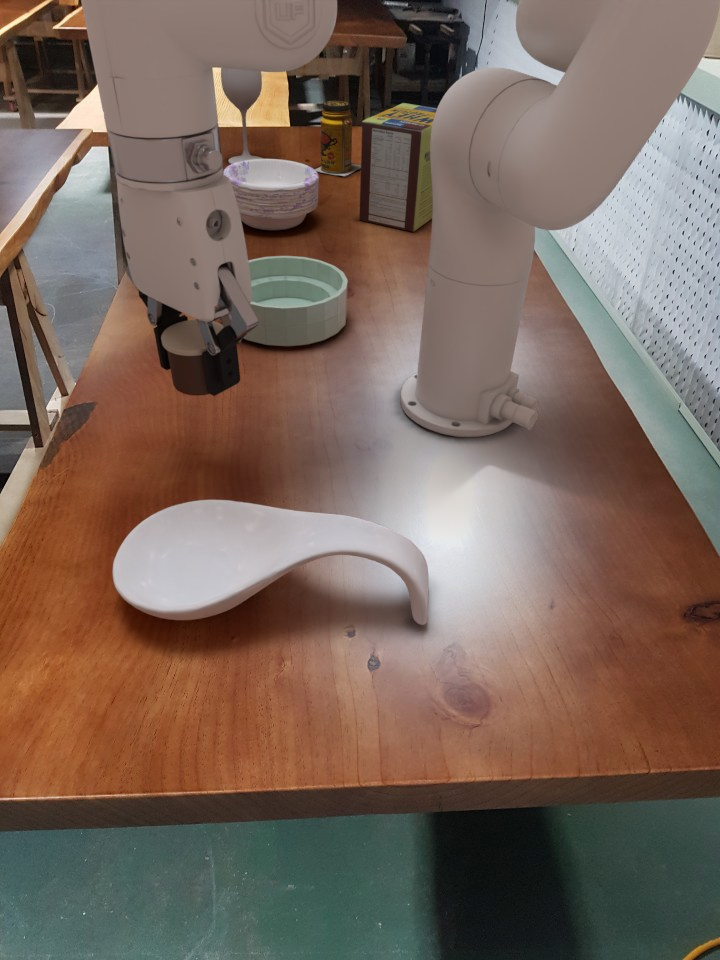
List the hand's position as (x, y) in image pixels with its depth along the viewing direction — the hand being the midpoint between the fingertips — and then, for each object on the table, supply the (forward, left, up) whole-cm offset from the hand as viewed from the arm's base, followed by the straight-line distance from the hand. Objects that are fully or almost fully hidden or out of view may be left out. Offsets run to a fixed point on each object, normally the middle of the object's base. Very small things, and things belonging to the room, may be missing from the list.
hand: (200, 373), depth 62 cm
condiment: (+54, -79, -10) cm, 97 cm away
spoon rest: (-16, +7, -10) cm, 20 cm away
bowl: (+15, -25, -10) cm, 31 cm away
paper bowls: (+42, -49, -10) cm, 66 cm away
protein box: (+29, -68, -10) cm, 75 cm away
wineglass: (+70, -69, -10) cm, 99 cm away
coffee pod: (0, 0, -1) cm, 1 cm away
